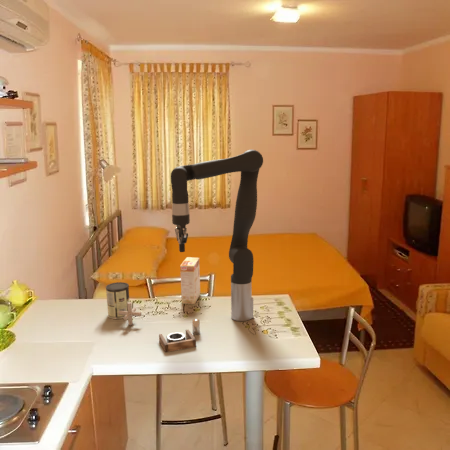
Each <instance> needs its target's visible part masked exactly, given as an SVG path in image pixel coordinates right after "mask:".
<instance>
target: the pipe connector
mask: <svg viewBox="0 0 450 450" xmlns="http://www.w3.org/2000/svg"><path fill="white" fill-rule="evenodd" d="M132 306H133V305H132V302H131V301H129V302H128V303H127V307H128V311H119V312H118V314H119V315H125V316H124V318H123V320H124V321H128V325H129V326H132V325H133V317H142V312H141V311H137V308H136V307H132Z"/></svg>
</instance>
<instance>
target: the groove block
mask: <svg viewBox="0 0 450 450" xmlns="http://www.w3.org/2000/svg"><path fill="white" fill-rule="evenodd" d="M158 338H159V339H158V341H159V344H160V345H161V347H162V349H163V350H164V352H165V353H169V352H175V351H178V350H179V351H180V350H186V349H191V348H196V347H197V340H196V339H197V338H195V335H194V334H193V333H191V331H190V330H189V329H185V340H183V341H177V342H171V343H167V339H166V338H165V337H164V335H163V333H159V334H158Z"/></svg>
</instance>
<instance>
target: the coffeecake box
mask: <svg viewBox="0 0 450 450" xmlns="http://www.w3.org/2000/svg"><path fill="white" fill-rule="evenodd" d="M179 266H180V290H181V292H180V293H181V304H183V305H184V304H187V305H188V304H191V305H195V304H196V302H197V301H198V299H199V297H200V295H201V276H200V274H201V273H200V271H201V270H200V257H193V256H192V257H191V256H187V257H185V259H184V260H183V261H182V263H181V264H180V265H179Z"/></svg>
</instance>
